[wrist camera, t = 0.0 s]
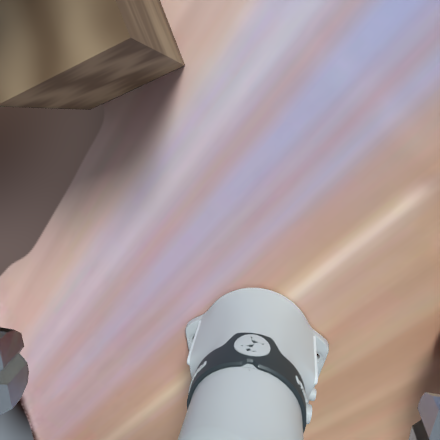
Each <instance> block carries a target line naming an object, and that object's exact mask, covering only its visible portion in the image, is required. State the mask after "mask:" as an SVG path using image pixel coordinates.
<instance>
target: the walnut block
mask: <svg viewBox="0 0 440 440" xmlns="http://www.w3.org/2000/svg"><path fill="white" fill-rule="evenodd" d="M182 66H185V64H184V62H183V59H182V56H181V54H180V51H179V49H178V46H177V44H176V41H175V38H174V36H173V33H172V31H171V28H170V25H169V23H168V20H167V18H166V15H165V13H164V10H163V7H162V5H161V2H160V0H0V106H4V107H5V106H6V107H31V108H59V109H86V110H87V109H88V110H90V109H92V108H94V107H97V106H99V105H100V104H103V103H105V102H107V101H109V100H112V99H114V98H116V97H118V96H120V95H122V94H125V93H127V92H129V91H131V90H133V89H135V88H137V87H140V86H142V85H144V84H146V83H148V82H150V81H152V80H155V79H157V78H159V77H161V76H163V75H165V74H167V73H170V72H172V71H174V70H176V69H178V68H180V67H182Z"/></svg>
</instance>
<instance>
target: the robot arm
mask: <svg viewBox="0 0 440 440" xmlns="http://www.w3.org/2000/svg"><path fill="white" fill-rule="evenodd" d="M186 337H187V343H188V348H189V355H188V359H187V364H188V365H189V366H190V372H191V377H192V381H191V384H190V388H189V393H188V394H189V395H188V399H187V413H186V416H185V419H184V422H183V425H182V428H181V431H180V434H179V437H178V440H304V437H303V433H304V430H305V427H306V424H309V423H310V420H311V416H312V405H310V404H308V402H309V400H310V401H314V400H315V398H316V389H314V387H315V385H316V384H317V382H318V377H319V374H320V372H321V369H322V367H323V364H324V362H325V359H326V357H327V354H328V351H329V345H328V342H327V341H326V339H325V338H324V337H322V336H321V335H320V334H319V333H317V332H316V331H315V330H313V329H312V327H311V326H310V325H309V323H308V321H307V319H306V318H305V316H304V314H303V313H302V312H301V310H300V309H299V308H298V307H297V306H296V305H295V304H294V303H293V302H292V301H290V300H289V299H288V298H286V297H284V296H283V295H281V294H279V293H276V292H274V291H271V290H267V289H262V288H243V289H238V290H235V291H232V292H230V293H227V294H225V295H224V296H222V297H221V298H219V299H218V300H217V301H216V302H215V303H214V304H213V305H212V306H211V307H210V308H209V310H208V311H207V312H206V313H204V314H203V315H201V316H198V317H196V318H194V319H192V320H191V321H189V322H188V324H187V327H186ZM23 347H24V343H23V339H22V335H21V333H20V332H18V331H16V330H12V329H6V328H1V327H0V415H1V414H3V413H5V412H7V411H9V410H11V409H12V408H13V407H14V406H15V405H16V403H17V402H18V401H19V400H20V398H21V397H22V395H23V392H24V390H25V388H26V385H27V383H28V375H29V370H28V364H27V362H26V361H25V359H24V358H23V357H22V356H21V355H20V351H21V350H22V348H23ZM317 354H319V355H318V356H317ZM418 411H419V413H420V416H421V419H422V420H420V421H419V422H417V423H416V424H414V425H413V426H412V428H411V432H410V436H409V440H440V394H434V393H428V392H425V393H424V395H423V396H422V397H421V399H420V402H419V405H418Z"/></svg>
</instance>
